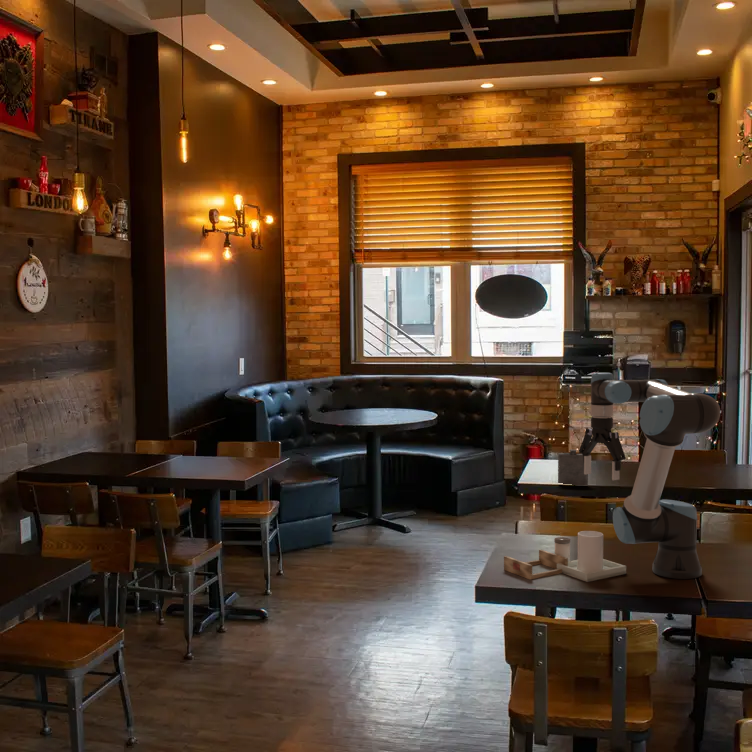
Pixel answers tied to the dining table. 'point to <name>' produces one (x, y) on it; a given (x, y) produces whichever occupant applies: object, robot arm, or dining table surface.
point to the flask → (571, 469)
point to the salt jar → (562, 547)
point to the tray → (608, 571)
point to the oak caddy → (526, 567)
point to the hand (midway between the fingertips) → (601, 476)
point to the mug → (590, 551)
